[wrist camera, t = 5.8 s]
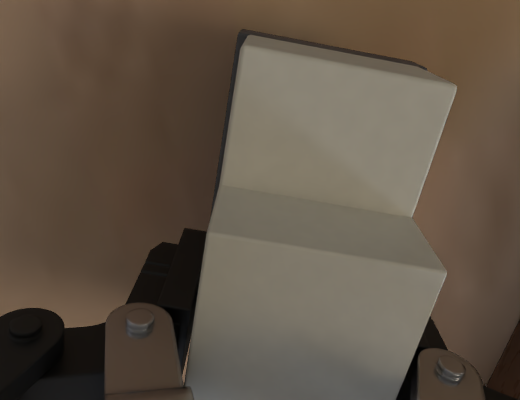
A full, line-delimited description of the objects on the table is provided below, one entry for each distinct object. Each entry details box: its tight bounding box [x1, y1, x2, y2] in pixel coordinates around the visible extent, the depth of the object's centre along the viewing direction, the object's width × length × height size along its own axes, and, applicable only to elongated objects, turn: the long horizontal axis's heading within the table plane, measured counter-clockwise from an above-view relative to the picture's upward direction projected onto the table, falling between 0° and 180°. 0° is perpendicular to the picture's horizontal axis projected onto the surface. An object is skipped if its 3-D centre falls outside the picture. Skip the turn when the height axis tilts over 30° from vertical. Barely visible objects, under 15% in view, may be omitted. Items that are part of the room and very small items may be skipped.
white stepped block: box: [184, 29, 457, 400], centre depth 11 cm, size 10×4×6 cm, turn 170°
